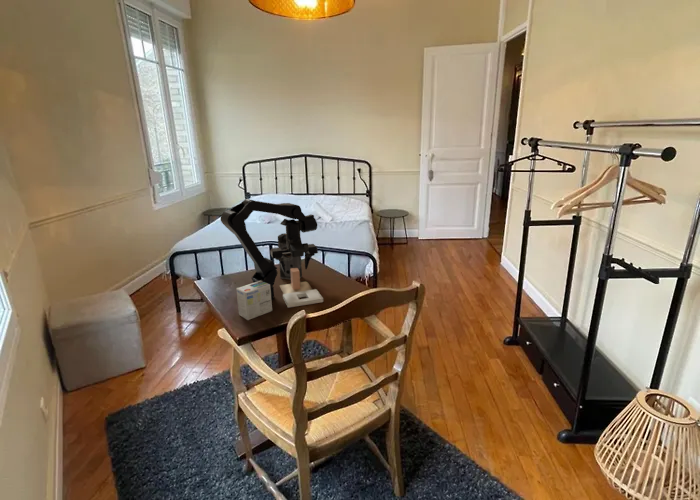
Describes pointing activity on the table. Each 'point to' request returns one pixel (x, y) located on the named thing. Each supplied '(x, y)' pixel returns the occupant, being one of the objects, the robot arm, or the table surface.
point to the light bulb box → (254, 299)
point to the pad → (303, 287)
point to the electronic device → (288, 259)
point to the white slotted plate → (293, 299)
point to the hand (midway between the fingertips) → (295, 270)
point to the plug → (295, 278)
